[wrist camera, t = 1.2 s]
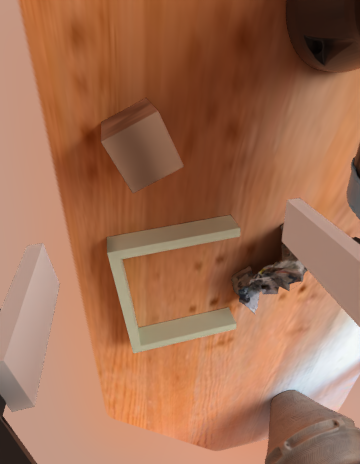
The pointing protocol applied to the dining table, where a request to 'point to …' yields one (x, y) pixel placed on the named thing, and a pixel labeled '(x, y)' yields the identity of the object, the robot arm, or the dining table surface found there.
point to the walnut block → (140, 145)
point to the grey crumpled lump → (268, 278)
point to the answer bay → (159, 242)
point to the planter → (309, 433)
